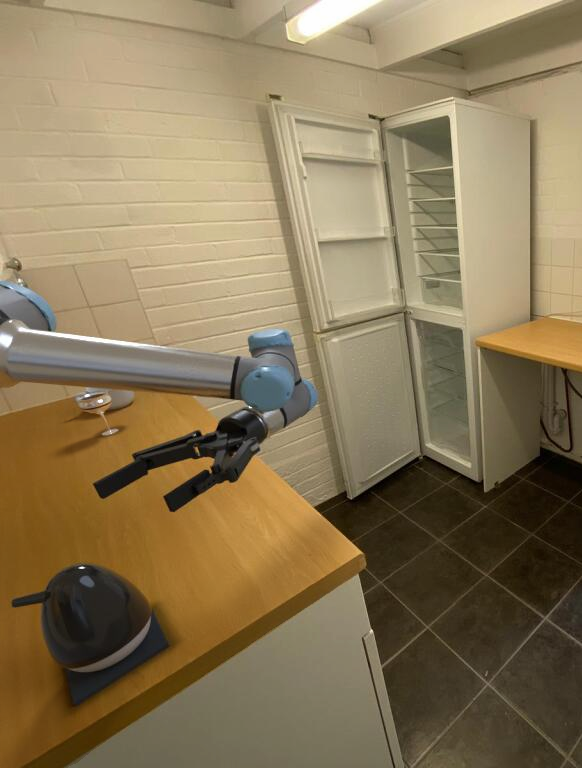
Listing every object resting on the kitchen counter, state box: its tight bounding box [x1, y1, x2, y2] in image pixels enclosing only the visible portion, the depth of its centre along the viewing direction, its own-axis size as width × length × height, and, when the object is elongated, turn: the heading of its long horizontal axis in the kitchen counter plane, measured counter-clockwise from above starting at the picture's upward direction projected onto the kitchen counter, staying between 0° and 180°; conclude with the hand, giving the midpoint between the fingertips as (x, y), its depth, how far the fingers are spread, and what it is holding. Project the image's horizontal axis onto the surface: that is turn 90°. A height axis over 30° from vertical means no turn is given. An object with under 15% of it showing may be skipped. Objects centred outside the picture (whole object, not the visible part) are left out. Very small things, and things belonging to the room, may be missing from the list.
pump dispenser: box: [10, 562, 153, 672], centre depth 56 cm, size 10×10×15 cm
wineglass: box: [76, 391, 119, 436], centre depth 118 cm, size 7×7×12 cm
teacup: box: [73, 387, 135, 412], centre depth 135 cm, size 14×11×8 cm
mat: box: [65, 609, 170, 708], centre depth 60 cm, size 10×10×1 cm
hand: (132, 497), depth 60 cm, fingers open, 13 cm apart
